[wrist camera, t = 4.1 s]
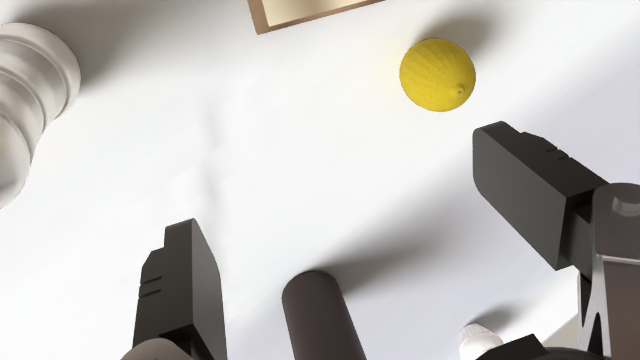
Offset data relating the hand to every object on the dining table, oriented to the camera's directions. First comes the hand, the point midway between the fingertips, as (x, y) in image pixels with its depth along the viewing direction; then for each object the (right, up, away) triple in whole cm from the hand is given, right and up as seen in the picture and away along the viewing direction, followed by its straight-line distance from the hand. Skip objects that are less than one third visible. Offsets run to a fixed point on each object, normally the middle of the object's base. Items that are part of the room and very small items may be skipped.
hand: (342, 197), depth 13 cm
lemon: (+8, +11, +28) cm, 31 cm away
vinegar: (-2, -12, +40) cm, 42 cm away
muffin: (+21, -21, +52) cm, 60 cm away
